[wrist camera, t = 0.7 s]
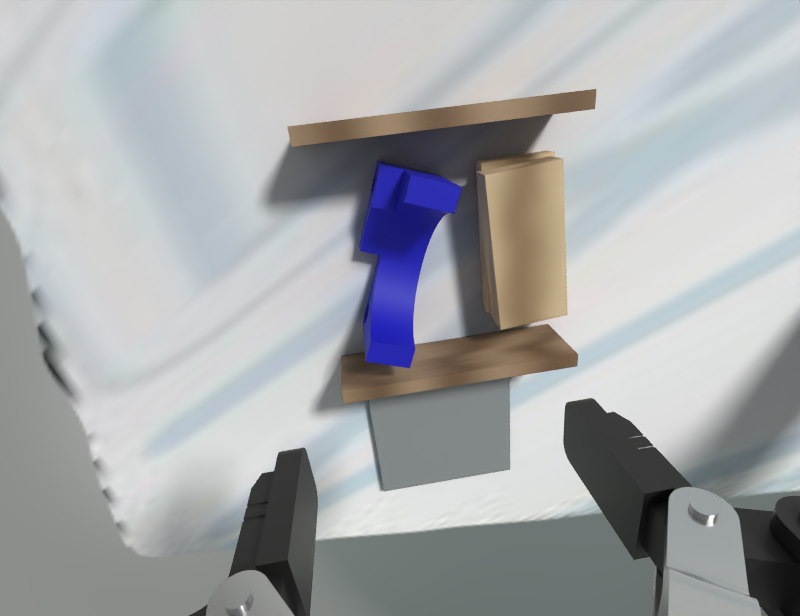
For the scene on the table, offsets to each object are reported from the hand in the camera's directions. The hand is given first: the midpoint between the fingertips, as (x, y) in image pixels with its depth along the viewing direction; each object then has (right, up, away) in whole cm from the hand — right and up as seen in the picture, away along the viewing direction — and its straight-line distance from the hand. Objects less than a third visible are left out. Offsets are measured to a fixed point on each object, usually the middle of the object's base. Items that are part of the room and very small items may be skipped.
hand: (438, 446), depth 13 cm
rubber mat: (+3, -7, +25) cm, 26 cm away
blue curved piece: (-2, +8, +19) cm, 21 cm away
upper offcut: (+7, +9, +18) cm, 21 cm away
